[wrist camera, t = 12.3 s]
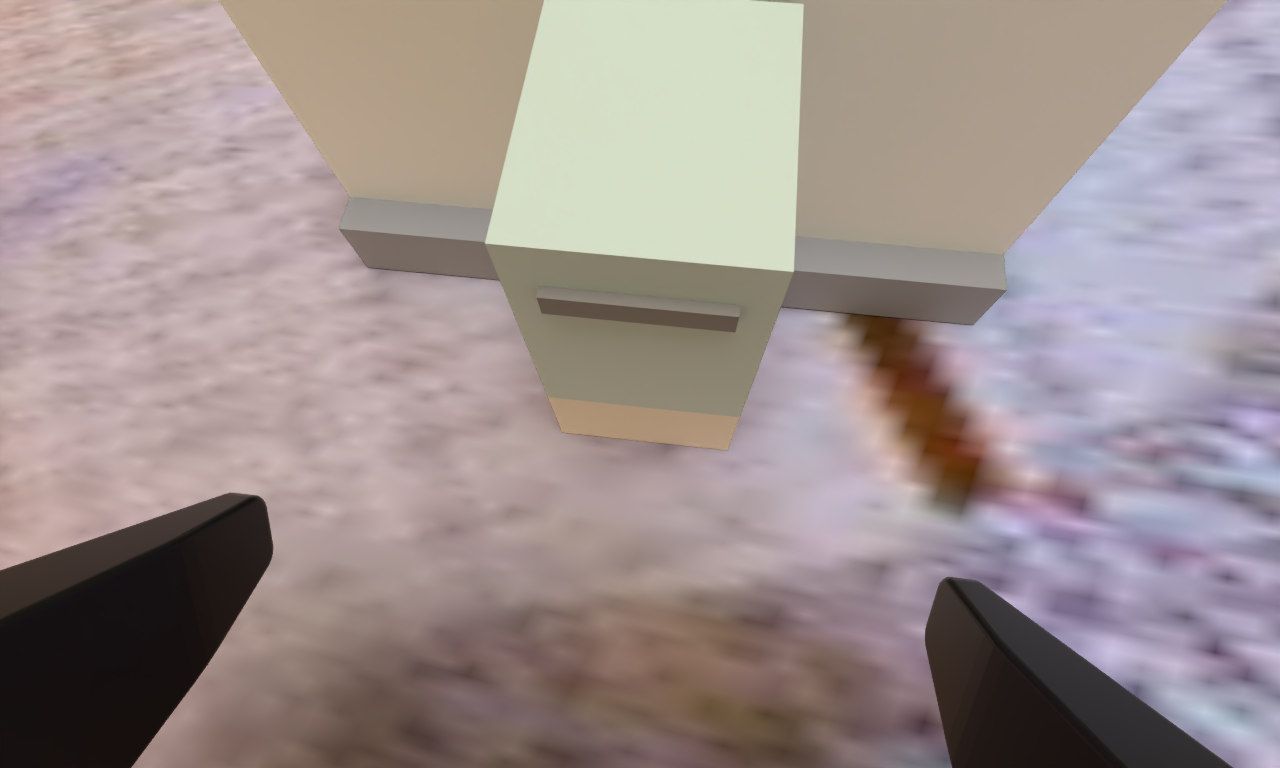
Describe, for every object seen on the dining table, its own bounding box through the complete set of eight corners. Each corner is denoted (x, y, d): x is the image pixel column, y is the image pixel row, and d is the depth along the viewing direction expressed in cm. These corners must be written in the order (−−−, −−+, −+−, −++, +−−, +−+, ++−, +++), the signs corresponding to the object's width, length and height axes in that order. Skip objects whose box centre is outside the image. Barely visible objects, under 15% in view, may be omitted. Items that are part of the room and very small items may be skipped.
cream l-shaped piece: (973, 325, 21) (1329, -40, 10) (367, 267, 22) (84, -115, 11) (954, 84, 25) (1198, -375, 14) (437, 46, 26) (277, -402, 15)
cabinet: (727, 458, 20) (793, 285, 10) (561, 440, 20) (482, 256, 11) (740, 277, 22) (803, 3, 13) (591, 263, 22) (547, -14, 13)
